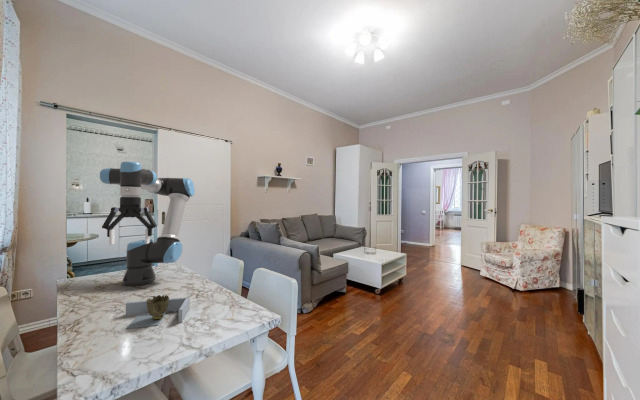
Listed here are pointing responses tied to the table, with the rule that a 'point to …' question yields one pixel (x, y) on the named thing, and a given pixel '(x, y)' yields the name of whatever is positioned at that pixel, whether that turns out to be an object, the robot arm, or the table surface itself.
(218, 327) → the table surface
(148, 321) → the mat
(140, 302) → the fence
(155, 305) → the cup
